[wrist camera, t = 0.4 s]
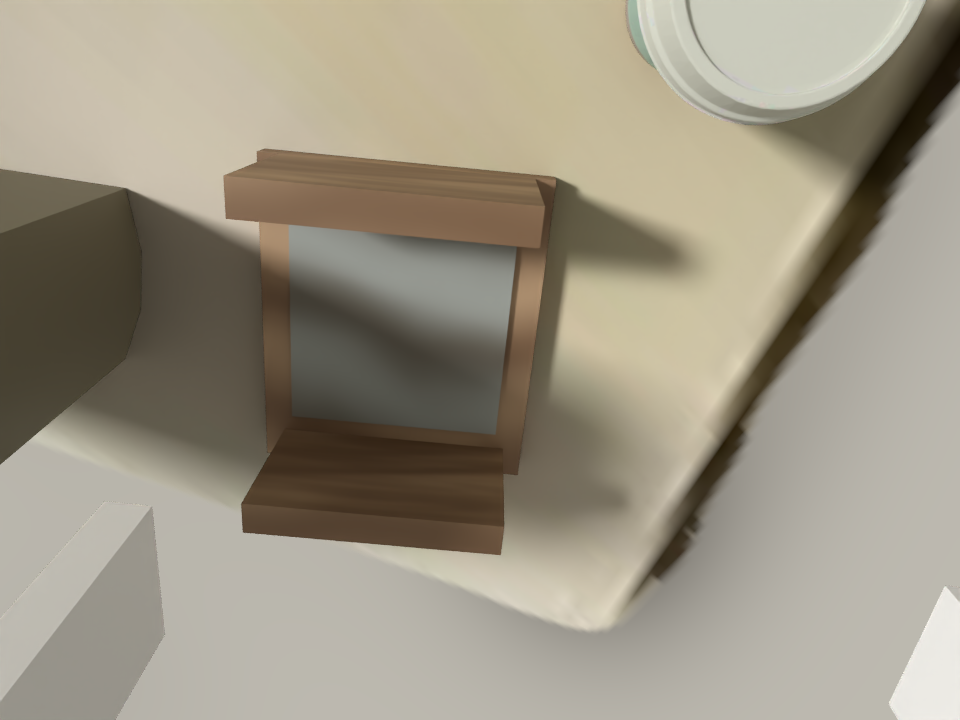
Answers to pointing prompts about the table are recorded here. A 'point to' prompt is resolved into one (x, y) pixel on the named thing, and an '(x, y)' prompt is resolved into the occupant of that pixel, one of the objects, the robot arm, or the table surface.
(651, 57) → the coffee cup
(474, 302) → the holder
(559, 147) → the table surface
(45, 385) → the book
